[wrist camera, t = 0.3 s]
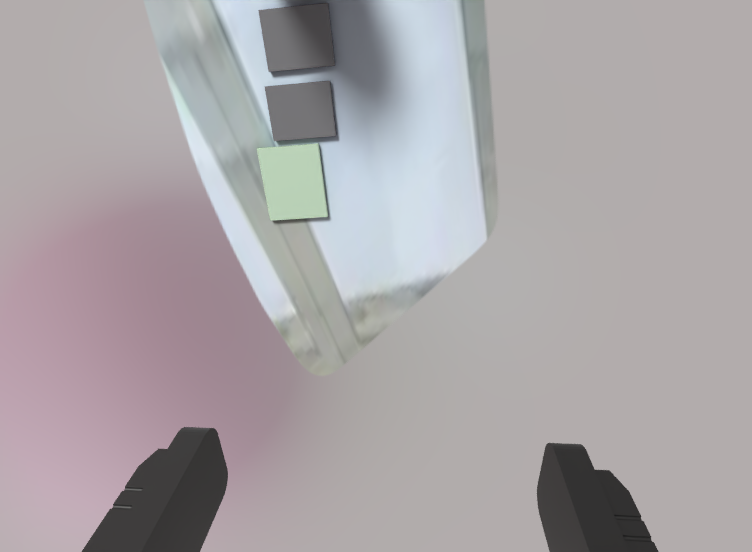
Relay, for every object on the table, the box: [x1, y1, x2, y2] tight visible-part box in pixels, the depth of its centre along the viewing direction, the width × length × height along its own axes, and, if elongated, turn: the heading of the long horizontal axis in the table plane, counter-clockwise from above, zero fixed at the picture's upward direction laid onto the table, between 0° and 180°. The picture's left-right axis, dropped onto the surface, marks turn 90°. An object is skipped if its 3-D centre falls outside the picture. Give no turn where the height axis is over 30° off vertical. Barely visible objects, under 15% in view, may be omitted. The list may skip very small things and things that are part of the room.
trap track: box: [257, 3, 336, 221], centre depth 34 cm, size 16×7×1 cm, turn 5°
